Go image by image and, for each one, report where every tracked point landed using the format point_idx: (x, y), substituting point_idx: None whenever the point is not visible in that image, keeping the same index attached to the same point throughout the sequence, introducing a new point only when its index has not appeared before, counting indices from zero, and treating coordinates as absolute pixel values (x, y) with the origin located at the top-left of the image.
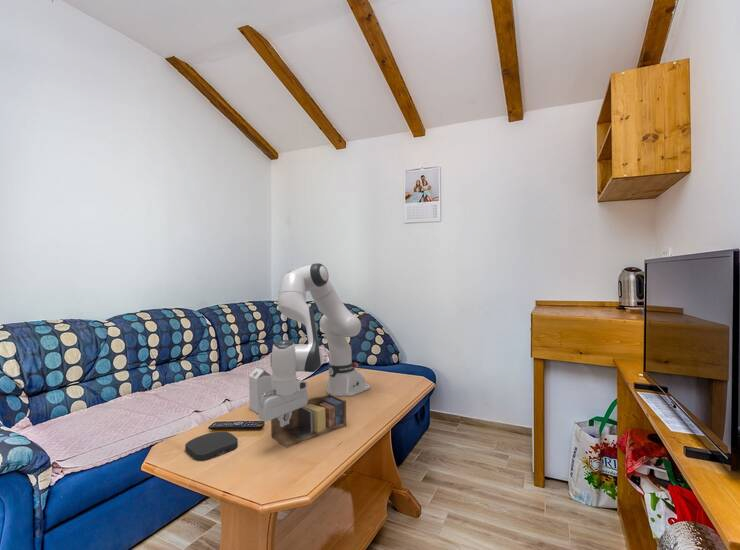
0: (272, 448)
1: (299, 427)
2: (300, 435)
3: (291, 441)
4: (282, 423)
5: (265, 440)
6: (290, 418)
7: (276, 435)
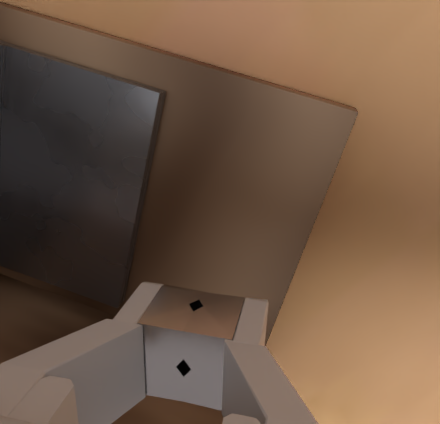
0: (431, 223)
1: (17, 243)
2: (125, 101)
3: (259, 117)
4: (262, 342)
5: (325, 374)
6: None
7: None
